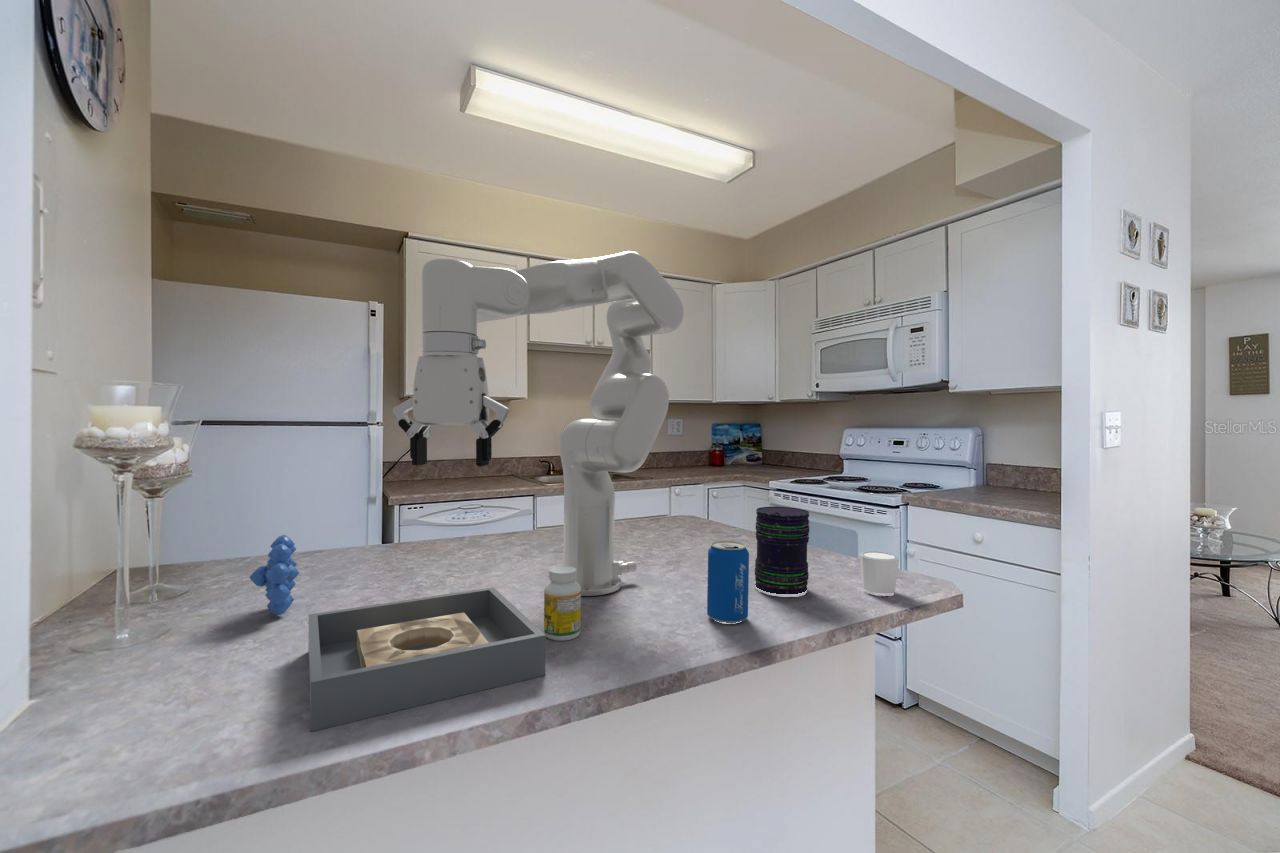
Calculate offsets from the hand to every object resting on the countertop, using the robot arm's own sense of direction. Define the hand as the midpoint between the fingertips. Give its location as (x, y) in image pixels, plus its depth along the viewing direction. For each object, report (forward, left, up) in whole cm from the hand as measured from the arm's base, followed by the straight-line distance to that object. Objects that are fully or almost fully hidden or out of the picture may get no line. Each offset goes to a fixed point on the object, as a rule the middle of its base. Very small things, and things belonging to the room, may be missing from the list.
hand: (451, 465), depth 82 cm
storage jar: (-59, +9, -25) cm, 64 cm away
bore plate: (+5, +9, -24) cm, 26 cm away
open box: (+5, +9, -25) cm, 27 cm away
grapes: (+22, -22, -25) cm, 40 cm away
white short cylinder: (-74, +19, -25) cm, 80 cm away
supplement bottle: (-14, +9, -25) cm, 30 cm away
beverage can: (-40, +16, -25) cm, 49 cm away
